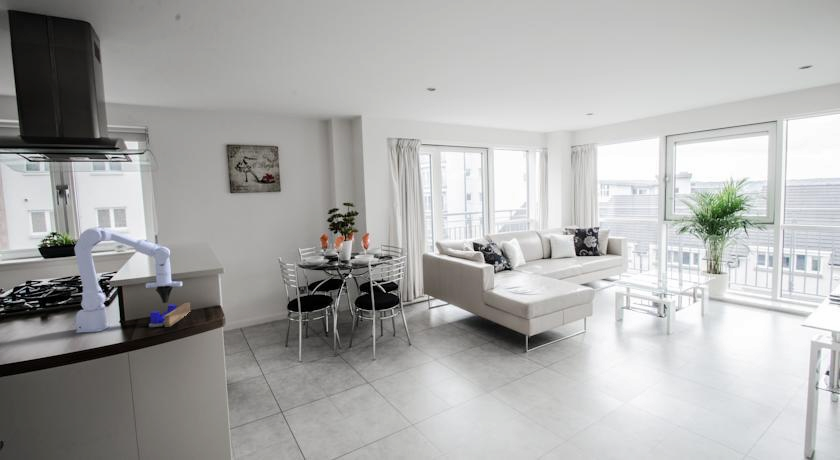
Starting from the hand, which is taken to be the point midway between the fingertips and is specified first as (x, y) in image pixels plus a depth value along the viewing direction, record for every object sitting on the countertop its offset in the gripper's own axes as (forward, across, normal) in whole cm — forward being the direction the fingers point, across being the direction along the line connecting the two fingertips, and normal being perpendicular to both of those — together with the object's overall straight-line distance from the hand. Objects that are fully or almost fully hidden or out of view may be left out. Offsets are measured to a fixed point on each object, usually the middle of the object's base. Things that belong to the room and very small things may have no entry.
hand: (165, 302), depth 175 cm
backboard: (+8, -5, 0) cm, 10 cm away
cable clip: (+9, +1, +1) cm, 9 cm away
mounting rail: (+8, 0, 0) cm, 8 cm away
